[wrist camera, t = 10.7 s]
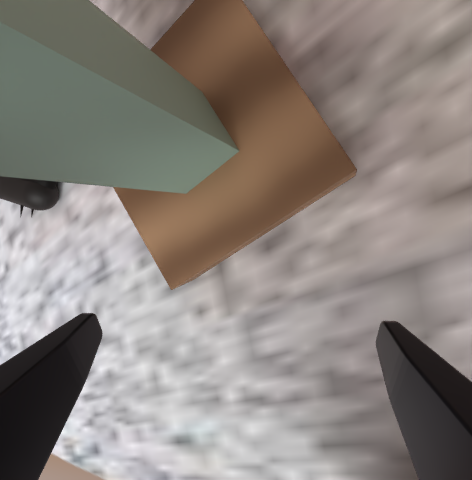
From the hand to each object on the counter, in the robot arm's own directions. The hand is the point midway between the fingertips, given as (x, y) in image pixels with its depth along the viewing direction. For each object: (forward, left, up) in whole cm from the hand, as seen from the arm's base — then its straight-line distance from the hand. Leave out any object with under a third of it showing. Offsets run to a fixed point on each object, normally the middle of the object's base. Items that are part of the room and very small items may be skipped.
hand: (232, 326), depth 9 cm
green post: (+10, 0, -9) cm, 13 cm away
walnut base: (+10, 0, -12) cm, 15 cm away
